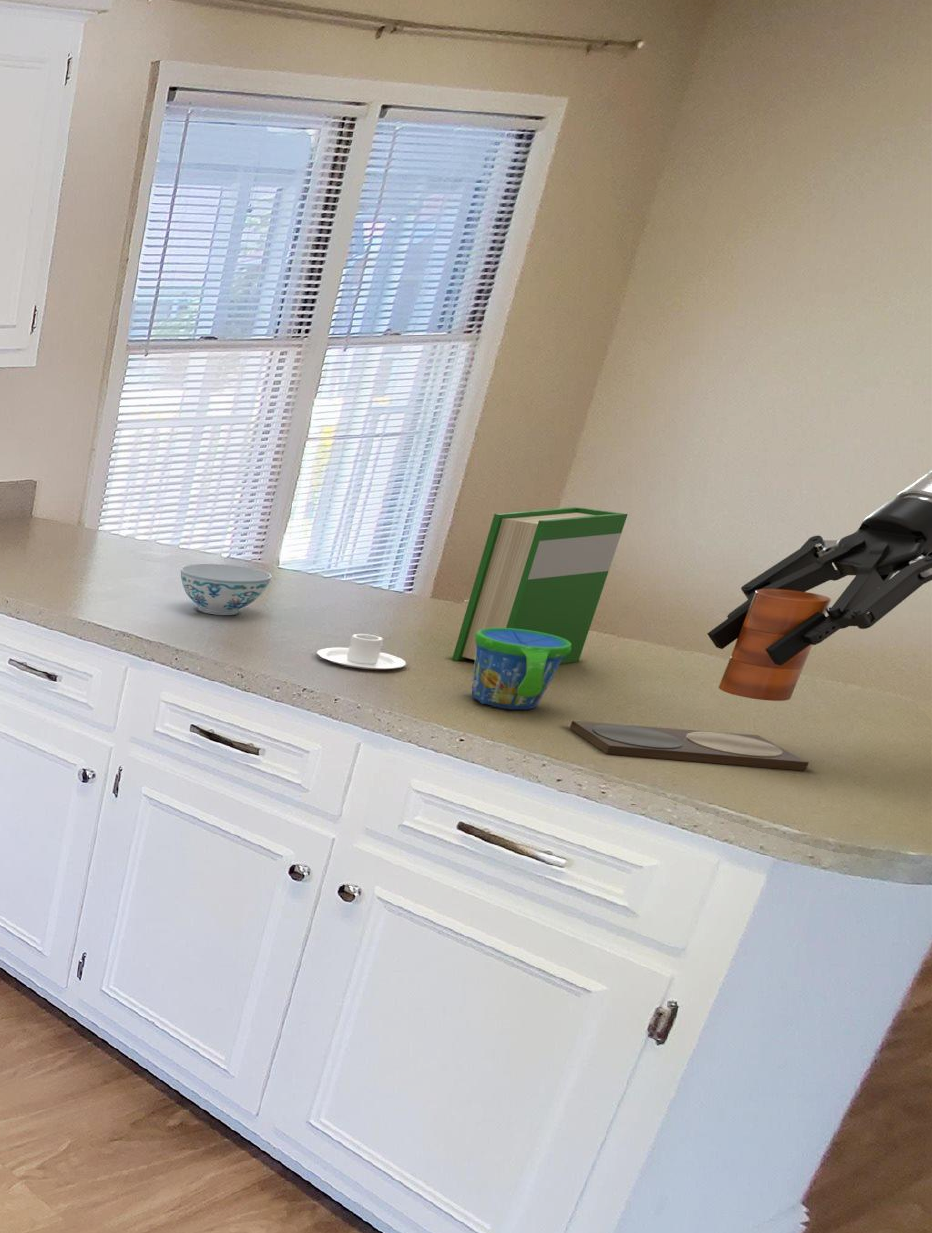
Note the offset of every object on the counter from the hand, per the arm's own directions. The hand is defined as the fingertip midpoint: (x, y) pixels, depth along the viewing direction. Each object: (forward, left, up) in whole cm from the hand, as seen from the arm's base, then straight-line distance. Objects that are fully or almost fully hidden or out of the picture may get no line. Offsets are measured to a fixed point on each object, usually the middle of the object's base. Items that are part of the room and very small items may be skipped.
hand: (743, 649), depth 140 cm
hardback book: (+42, +5, -14) cm, 45 cm away
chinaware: (+65, +44, -14) cm, 80 cm away
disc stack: (+1, -3, -6) cm, 7 cm away
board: (+1, +2, -14) cm, 14 cm away
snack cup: (+16, +16, -14) cm, 27 cm away
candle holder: (+34, +29, -14) cm, 47 cm away
